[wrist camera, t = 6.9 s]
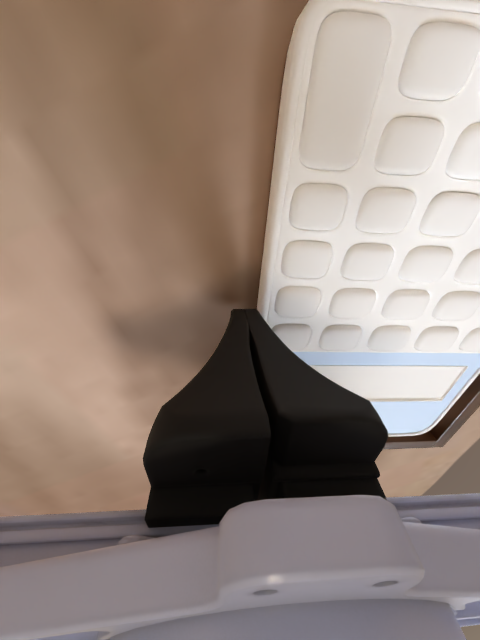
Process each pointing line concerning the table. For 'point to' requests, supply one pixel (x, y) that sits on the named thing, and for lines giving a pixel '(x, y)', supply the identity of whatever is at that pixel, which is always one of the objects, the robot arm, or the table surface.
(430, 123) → the calculator
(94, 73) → the table surface
